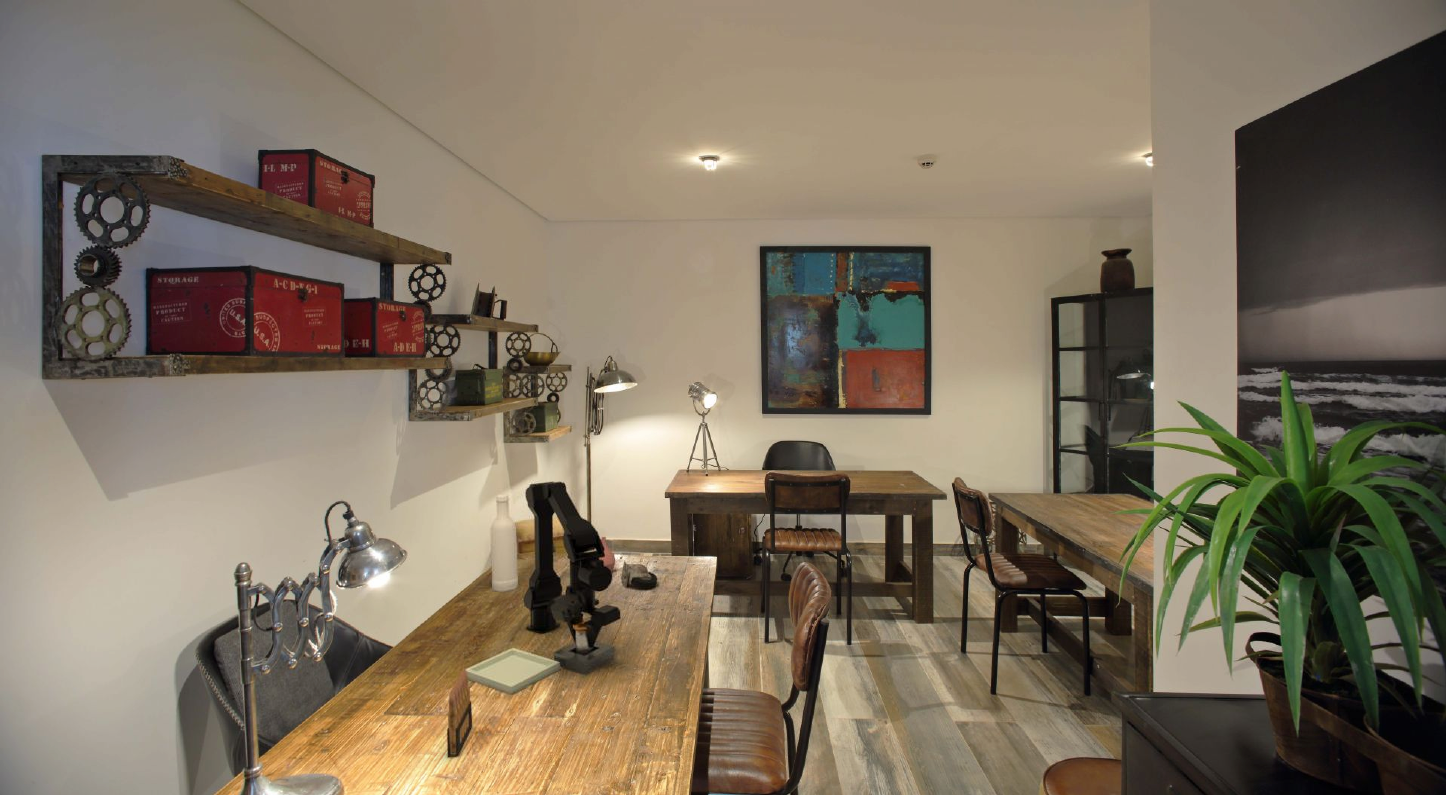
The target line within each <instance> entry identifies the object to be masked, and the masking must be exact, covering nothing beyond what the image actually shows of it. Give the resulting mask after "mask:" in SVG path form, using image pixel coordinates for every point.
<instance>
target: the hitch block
mask: <svg viewBox="0 0 1446 795" xmlns="http://www.w3.org/2000/svg"><path fill="white" fill-rule="evenodd" d="M592 648H593V652H591V653H589V654H587V655H585V656H583V655H580V654H576V644H575V642H573V643H571V644H569V645H567V646H565V647H562V648H561V649H559V650H557V651H554V652H553V660H554V661H557V662H560V669H565V670H567V671H571V672H574V673H577V674H580V675H584V676H586V675H588V674H590V673H591V672H594V671H595V670H597V669H599V668H600V667H602V666H604V665H606V664H608V663H609V662H612V661H613V660H615V659H616V655H615V654H616V653H615V652H616V651H615V646H614V645H611V644H607V643H604V642H601V641H597V640H596V642H595V644H594V646H593V647H592Z"/></svg>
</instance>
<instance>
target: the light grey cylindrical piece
mask: <svg viewBox="0 0 1446 795" xmlns="http://www.w3.org/2000/svg"><path fill="white" fill-rule="evenodd" d="M588 620H589V618H583V619H580V620H576V621H575V622H573V629H574V630H576V654H580V655H583V656H585V655H587V654H589V653H591V652H593V648H589V644H588V630H587V627H586V626H585V625H584V624H583V623H584V622H586V621H588Z"/></svg>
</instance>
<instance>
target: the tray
mask: <svg viewBox="0 0 1446 795" xmlns="http://www.w3.org/2000/svg"><path fill="white" fill-rule="evenodd" d="M465 669H466V672H467V676H468V681H472V682H475V683H477V684H480V685H483V686H485V687H488V688H491V689H493V690H496V691H499V692H502V693H503V694H507V695H510V696H513V695H514V694H516V693H518V692H521V691H522V690H524V689H526V688H528V687H530V686H532V685H534V684H536V683H538V682H539V681H541V680H543V679H546V678H547V677H550V676H551V675H553V674H555V673H557V672H558V671H560V670H561V667H560V662H557V661H554V659H550V658H547V657H544V656H541V655H537V654H535V653H530V652H528V651H525V650H522V649H518V648H514V647H512V648H510V649H509V648H508V650H505V651H503V652H501V653H498V654H497V655H494V656H493V657H490V658H488V659H485V660H483V661H480V662H478V663H476V664H474V665H472V666H470V667H466V668H465Z"/></svg>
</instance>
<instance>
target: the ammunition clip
mask: <svg viewBox="0 0 1446 795" xmlns="http://www.w3.org/2000/svg"><path fill="white" fill-rule="evenodd" d="M466 669H467V668H465V667H464V668H463V669H462V671H461V673H460V675H459V676H458V678H457V680H456V682H455V684H454V685H453V686H452V688H451V689H450V691H449V694H448V695H449V697H448V711H447V712H448V713H447V721H448V722H447V724H448V727H447V729H446V744H447V745H446V746H447V750H446V751H447V758H455V757H458V758H459V757H460V754H461V752H462V750H463V747H464V745H465V743H466V741H467V738H468V737H469V735H470V733H471V730H472V728H473V713H472V712H473V710H472V700H471V694H470V687H469V679H468V676H467V672H466Z"/></svg>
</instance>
